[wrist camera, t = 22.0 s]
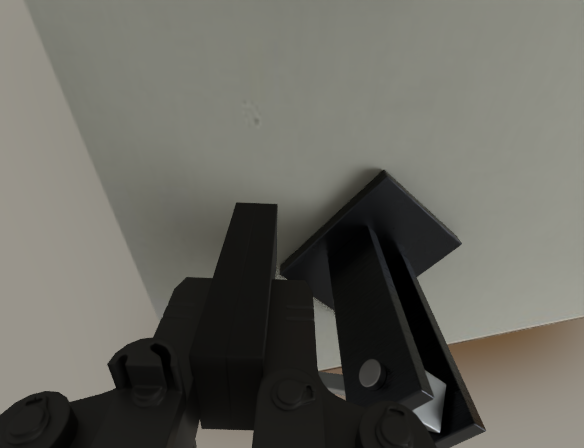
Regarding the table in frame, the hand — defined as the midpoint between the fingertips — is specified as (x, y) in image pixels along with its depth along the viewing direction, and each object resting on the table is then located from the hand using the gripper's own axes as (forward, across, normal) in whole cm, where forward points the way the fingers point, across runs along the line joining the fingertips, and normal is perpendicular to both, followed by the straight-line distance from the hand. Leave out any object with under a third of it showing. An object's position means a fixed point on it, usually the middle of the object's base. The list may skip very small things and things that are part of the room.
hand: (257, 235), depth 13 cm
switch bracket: (+13, +8, -10) cm, 18 cm away
